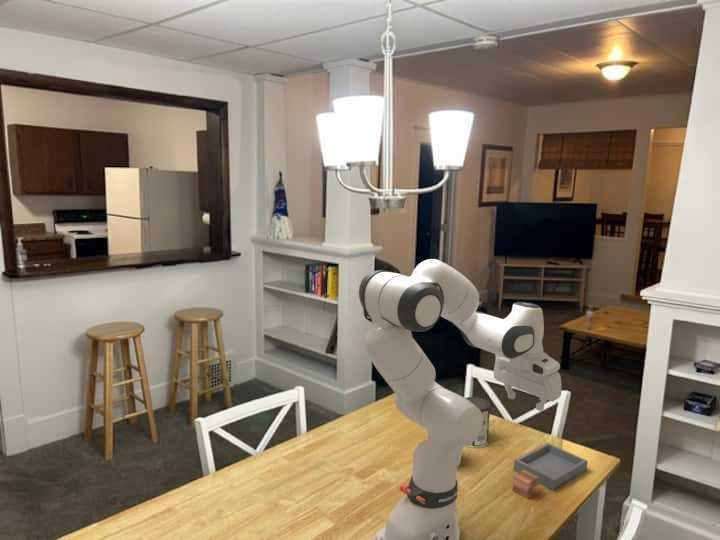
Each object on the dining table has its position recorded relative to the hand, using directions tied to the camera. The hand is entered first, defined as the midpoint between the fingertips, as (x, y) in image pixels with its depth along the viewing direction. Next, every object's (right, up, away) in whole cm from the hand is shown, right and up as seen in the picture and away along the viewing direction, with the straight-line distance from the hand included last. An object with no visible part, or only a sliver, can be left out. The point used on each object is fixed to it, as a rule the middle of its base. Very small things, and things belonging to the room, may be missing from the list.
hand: (525, 403), depth 148 cm
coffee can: (-8, -22, +33) cm, 41 cm away
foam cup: (-18, -24, +19) cm, 36 cm away
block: (+1, -27, +4) cm, 27 cm away
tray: (+13, -25, +15) cm, 32 cm away
